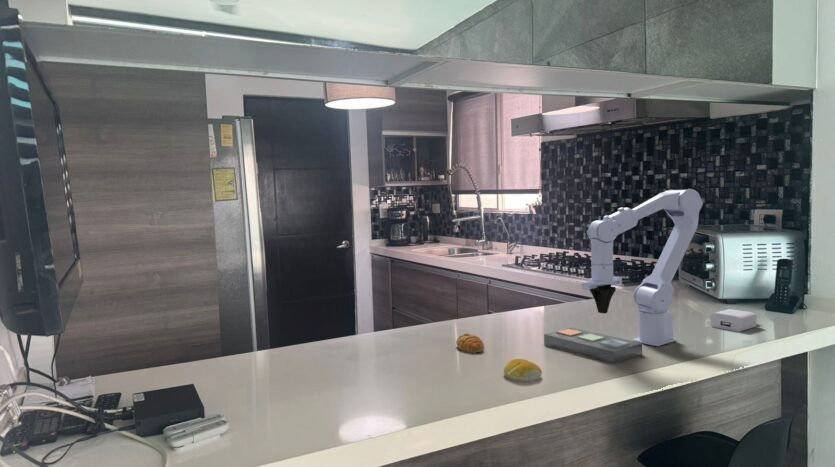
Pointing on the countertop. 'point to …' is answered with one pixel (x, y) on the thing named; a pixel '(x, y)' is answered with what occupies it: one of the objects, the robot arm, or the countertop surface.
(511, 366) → the bread roll
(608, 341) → the blue-grey button
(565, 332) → the terracotta button
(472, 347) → the pastry
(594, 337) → the sage button
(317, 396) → the countertop surface
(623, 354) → the button panel
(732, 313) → the charger
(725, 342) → the countertop surface
